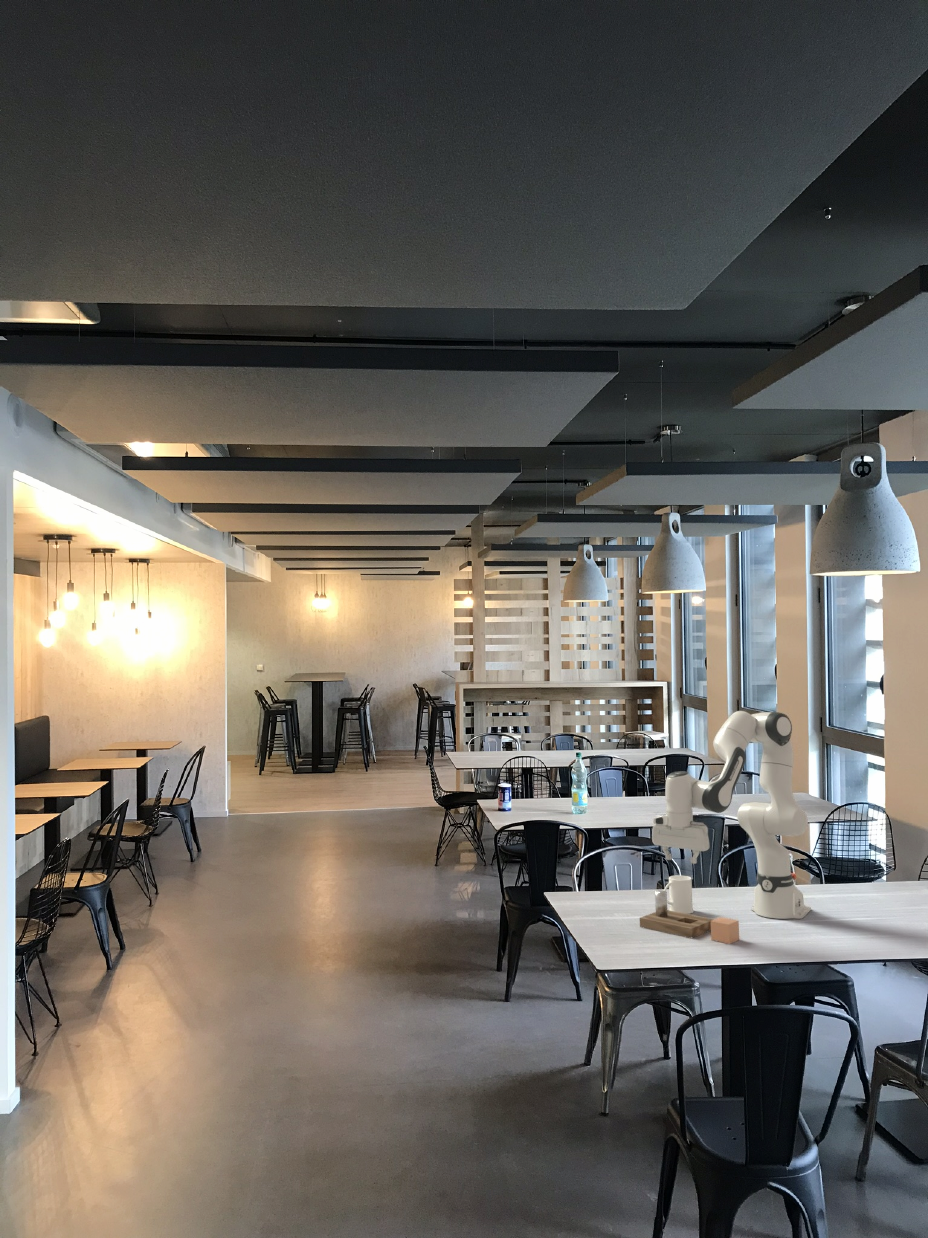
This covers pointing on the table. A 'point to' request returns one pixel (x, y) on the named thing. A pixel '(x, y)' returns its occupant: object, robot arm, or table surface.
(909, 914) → the table surface
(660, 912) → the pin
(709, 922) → the board
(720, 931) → the tan wooden block
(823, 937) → the table surface
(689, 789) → the robot arm
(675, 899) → the mug
